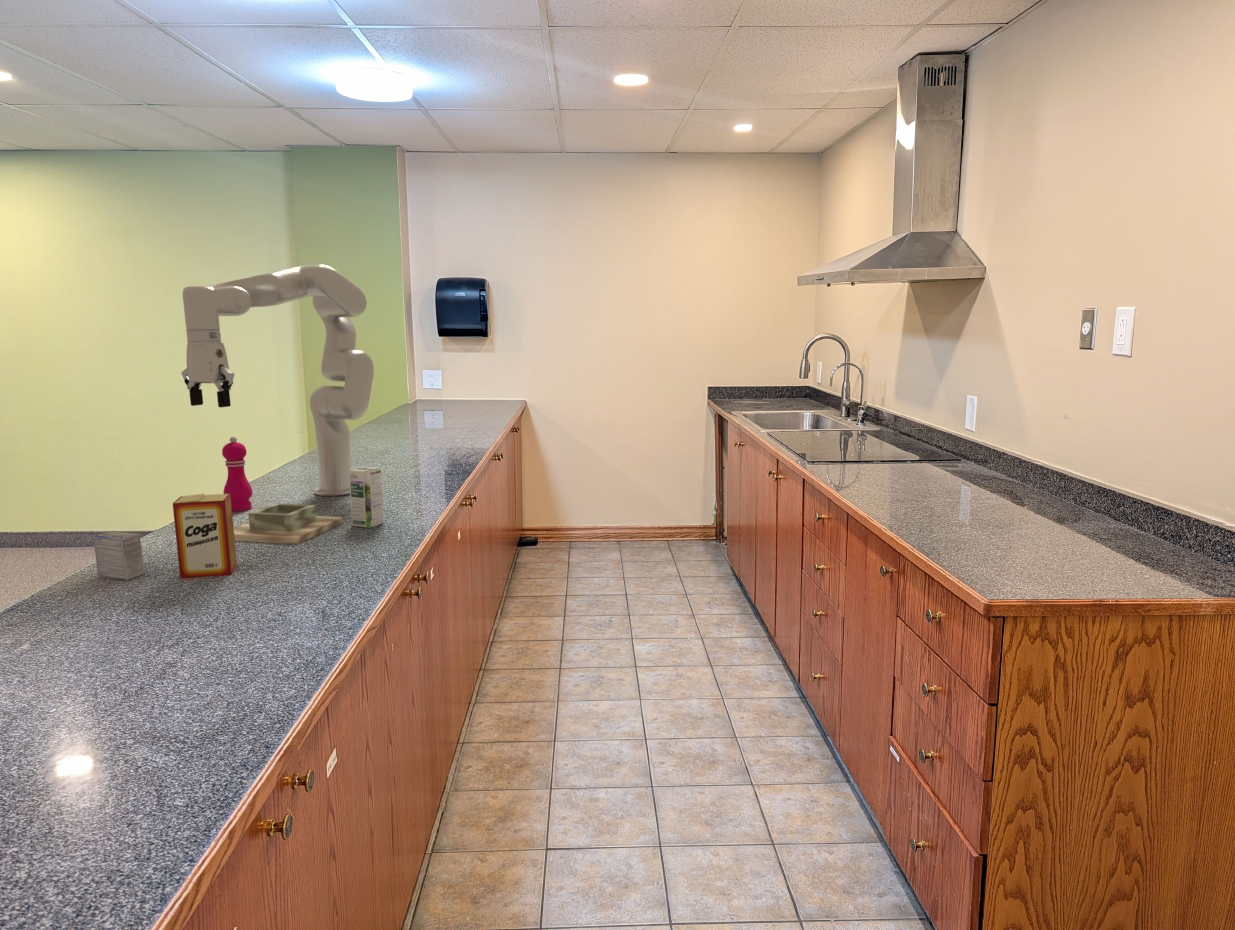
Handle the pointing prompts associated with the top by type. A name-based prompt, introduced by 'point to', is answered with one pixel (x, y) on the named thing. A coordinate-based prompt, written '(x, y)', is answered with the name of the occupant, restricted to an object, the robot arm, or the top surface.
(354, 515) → the syrup box
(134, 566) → the medicine box
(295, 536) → the socket board
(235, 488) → the pepper mill
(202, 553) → the baking soda box
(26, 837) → the top surface
